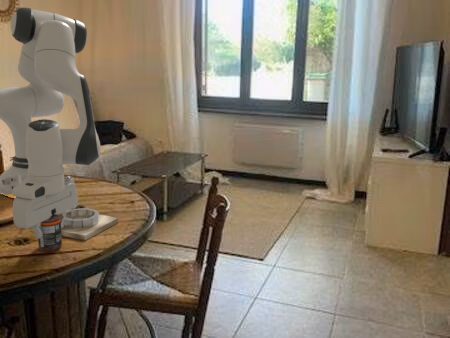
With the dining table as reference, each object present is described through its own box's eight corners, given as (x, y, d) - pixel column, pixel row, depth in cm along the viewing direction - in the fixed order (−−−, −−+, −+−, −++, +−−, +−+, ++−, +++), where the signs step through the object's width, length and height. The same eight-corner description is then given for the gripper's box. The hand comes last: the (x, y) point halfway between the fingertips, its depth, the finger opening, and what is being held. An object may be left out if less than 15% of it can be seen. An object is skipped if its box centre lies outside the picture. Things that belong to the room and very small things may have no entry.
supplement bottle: (42, 242, 126) (40, 203, 123) (64, 242, 127) (62, 204, 124) (35, 251, 120) (32, 211, 118) (58, 251, 121) (56, 211, 118)
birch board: (40, 231, 135) (40, 226, 134) (76, 214, 149) (76, 210, 149) (85, 240, 129) (85, 235, 129) (118, 222, 143) (118, 218, 143)
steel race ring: (53, 224, 136) (52, 216, 135) (77, 213, 145) (77, 206, 145) (83, 231, 132) (83, 222, 131) (106, 219, 142) (106, 211, 141)
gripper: (64, 172, 130) (66, 218, 133) (6, 191, 111) (10, 244, 115) (82, 175, 127) (84, 222, 131) (26, 195, 109) (30, 248, 112)
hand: (49, 232), depth 123 cm, fingers closed on supplement bottle, 6 cm apart
